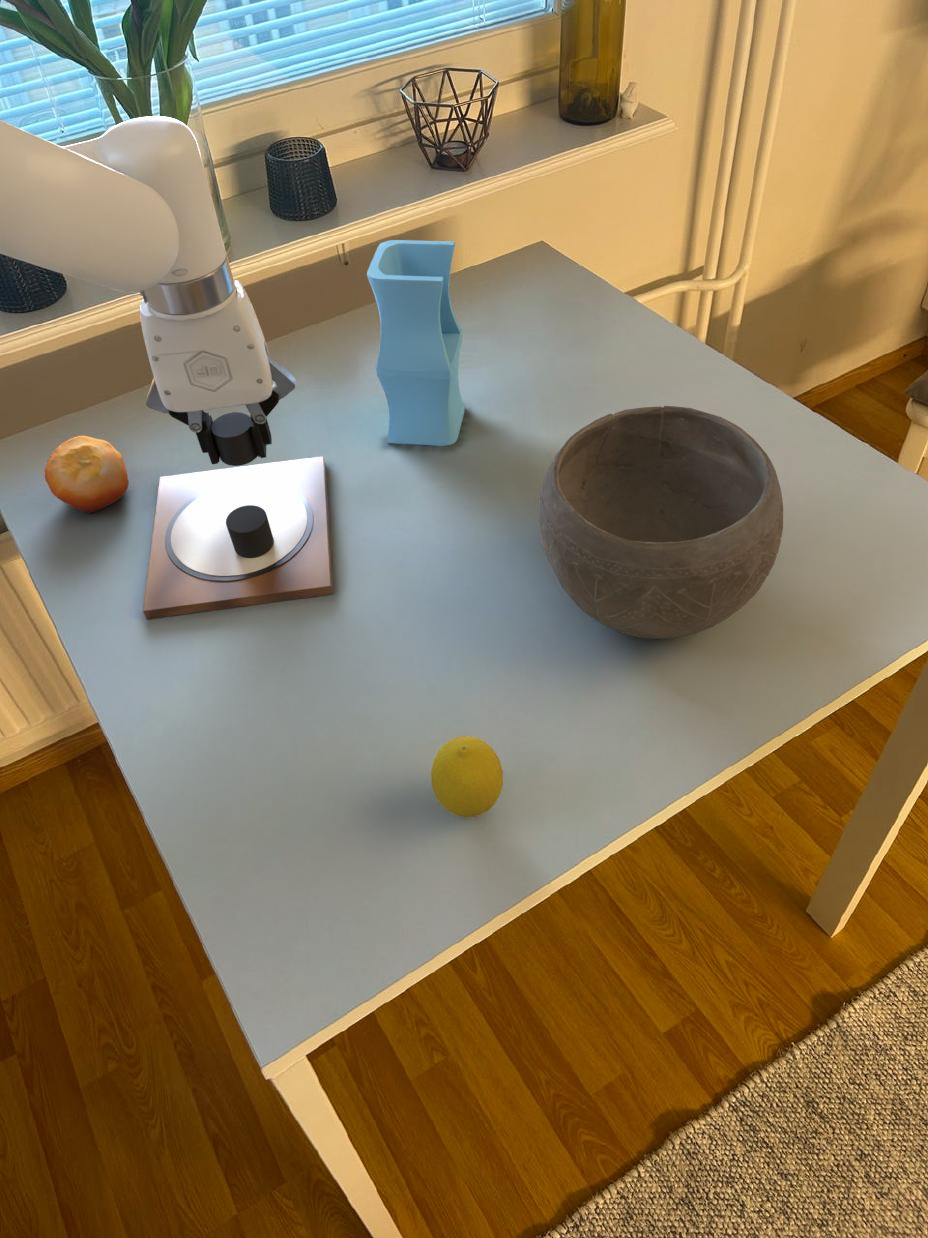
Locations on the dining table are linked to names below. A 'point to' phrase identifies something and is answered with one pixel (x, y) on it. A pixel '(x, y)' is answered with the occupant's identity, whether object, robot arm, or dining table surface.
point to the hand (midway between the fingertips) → (239, 450)
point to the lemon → (466, 776)
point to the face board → (204, 553)
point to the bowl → (661, 520)
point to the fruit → (86, 473)
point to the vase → (418, 341)
